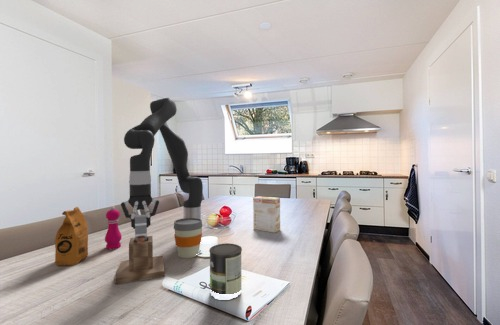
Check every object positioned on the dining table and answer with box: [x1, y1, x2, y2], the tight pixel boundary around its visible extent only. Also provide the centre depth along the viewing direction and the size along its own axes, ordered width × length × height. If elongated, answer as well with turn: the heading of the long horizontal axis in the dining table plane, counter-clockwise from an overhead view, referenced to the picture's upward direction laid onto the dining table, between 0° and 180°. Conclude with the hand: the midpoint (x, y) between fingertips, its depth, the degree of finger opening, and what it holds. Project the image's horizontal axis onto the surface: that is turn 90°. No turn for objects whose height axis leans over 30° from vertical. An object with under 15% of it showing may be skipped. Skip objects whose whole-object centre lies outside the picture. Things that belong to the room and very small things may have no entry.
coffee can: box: [209, 242, 243, 294], centre depth 82 cm, size 10×10×14 cm
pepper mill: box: [104, 205, 123, 250], centre depth 125 cm, size 7×7×20 cm
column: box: [134, 214, 148, 242], centre depth 98 cm, size 4×4×18 cm
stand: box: [114, 235, 165, 285], centre depth 98 cm, size 16×16×14 cm
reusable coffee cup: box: [173, 218, 203, 259], centre depth 115 cm, size 12×13×15 cm
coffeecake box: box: [252, 195, 281, 234], centre depth 154 cm, size 15×7×20 cm, turn 58°
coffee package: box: [54, 206, 89, 267], centre depth 109 cm, size 10×12×22 cm
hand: (141, 227), depth 98 cm, fingers closed on column, 4 cm apart
